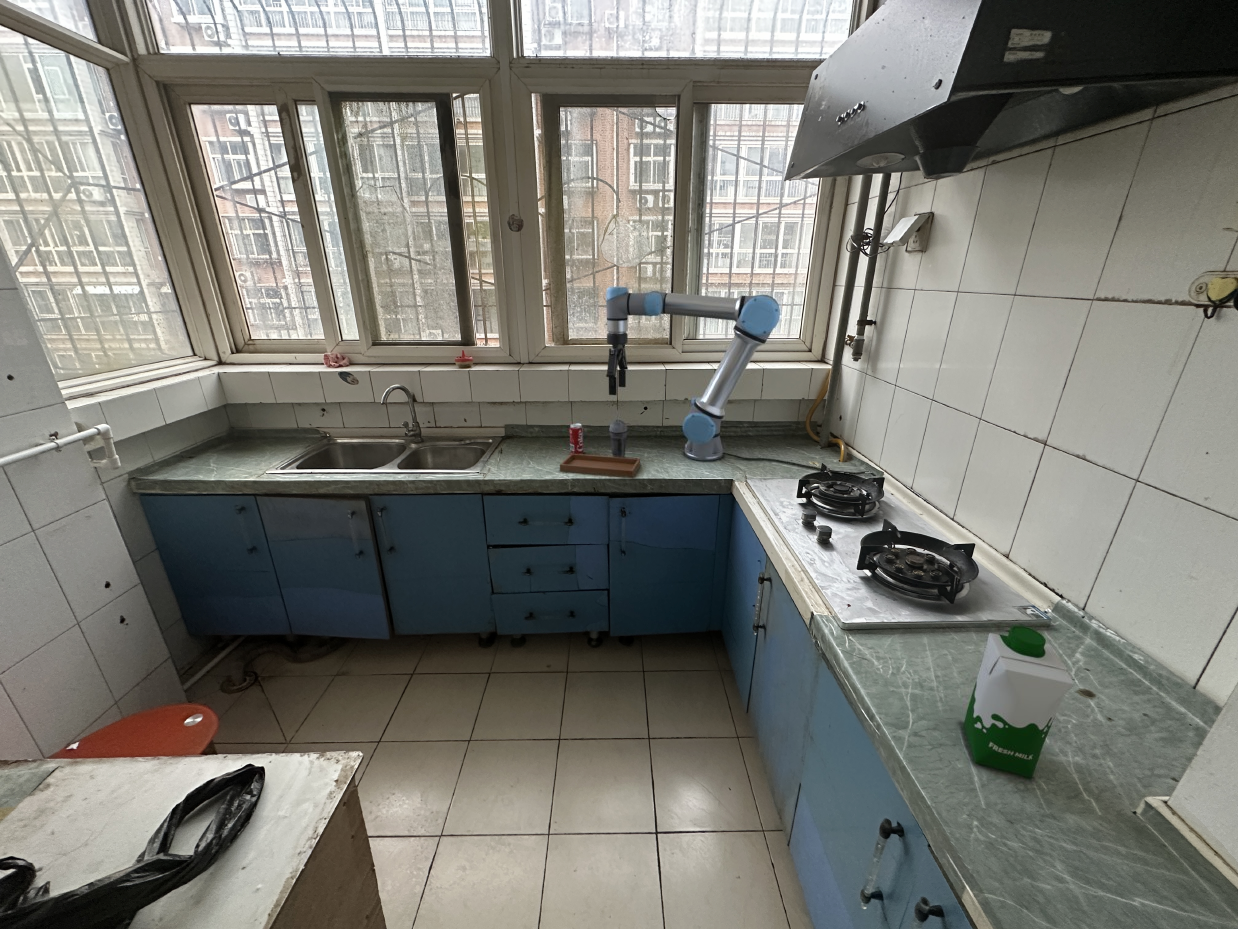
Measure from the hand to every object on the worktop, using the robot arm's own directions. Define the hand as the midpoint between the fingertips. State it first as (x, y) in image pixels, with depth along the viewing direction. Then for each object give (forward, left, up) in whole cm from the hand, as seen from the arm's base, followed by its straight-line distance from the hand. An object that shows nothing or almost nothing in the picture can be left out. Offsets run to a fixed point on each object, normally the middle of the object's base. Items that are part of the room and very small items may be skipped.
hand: (617, 390), depth 186 cm
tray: (+4, +12, -27) cm, 30 cm away
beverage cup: (0, 0, -27) cm, 27 cm away
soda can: (+18, -2, -27) cm, 33 cm away
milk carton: (-88, +110, -27) cm, 144 cm away
